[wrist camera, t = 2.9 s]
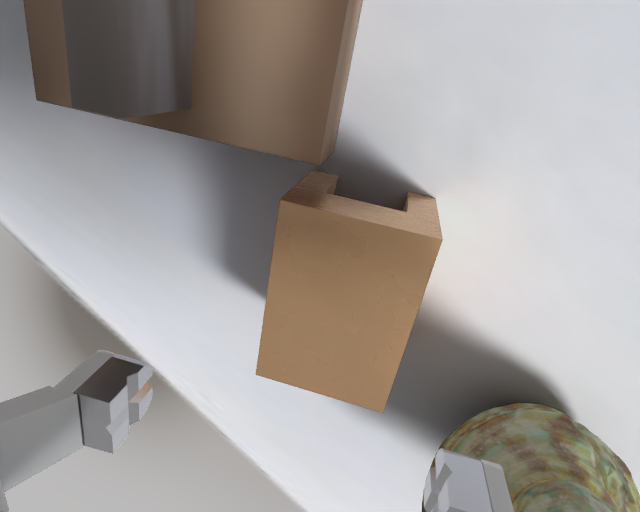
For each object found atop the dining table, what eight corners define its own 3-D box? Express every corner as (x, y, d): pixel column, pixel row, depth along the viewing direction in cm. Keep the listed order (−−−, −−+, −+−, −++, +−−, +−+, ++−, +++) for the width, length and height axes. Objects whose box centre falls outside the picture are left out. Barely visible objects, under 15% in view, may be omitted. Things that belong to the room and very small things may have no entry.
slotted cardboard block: (435, 198, 17) (442, 239, 13) (388, 345, 21) (381, 417, 17) (312, 169, 18) (279, 199, 14) (287, 317, 22) (255, 379, 17)
